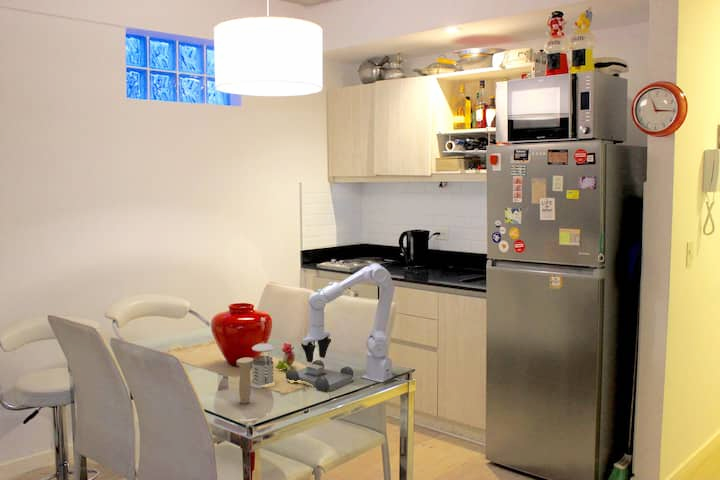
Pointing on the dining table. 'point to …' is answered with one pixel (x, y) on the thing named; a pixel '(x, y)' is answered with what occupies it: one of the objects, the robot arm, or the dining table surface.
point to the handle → (245, 378)
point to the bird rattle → (286, 358)
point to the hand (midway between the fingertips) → (316, 359)
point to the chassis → (323, 377)
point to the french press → (262, 365)
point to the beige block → (315, 370)
